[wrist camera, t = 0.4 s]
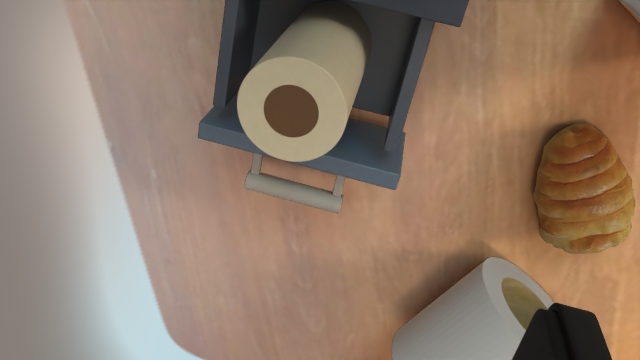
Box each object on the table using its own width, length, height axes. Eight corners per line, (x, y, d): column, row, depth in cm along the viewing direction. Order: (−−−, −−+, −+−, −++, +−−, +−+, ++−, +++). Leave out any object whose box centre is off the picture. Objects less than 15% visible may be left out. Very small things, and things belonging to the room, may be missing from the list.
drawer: (386, 194, 47) (379, 243, 41) (222, 151, 47) (191, 193, 41) (453, -25, 38) (456, -3, 32) (252, -74, 39) (219, -61, 33)
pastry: (519, 131, 43) (526, 154, 40) (620, 109, 41) (636, 131, 38) (540, 238, 47) (548, 267, 44) (633, 222, 45) (649, 251, 42)
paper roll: (298, -9, 39) (244, 43, 28) (380, 12, 39) (358, 73, 28) (283, 71, 42) (229, 146, 31) (360, 91, 42) (333, 174, 31)
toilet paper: (478, 235, 48) (487, 319, 39) (567, 306, 50) (594, 401, 41) (395, 304, 53) (387, 393, 44) (479, 366, 54) (486, 463, 46)
